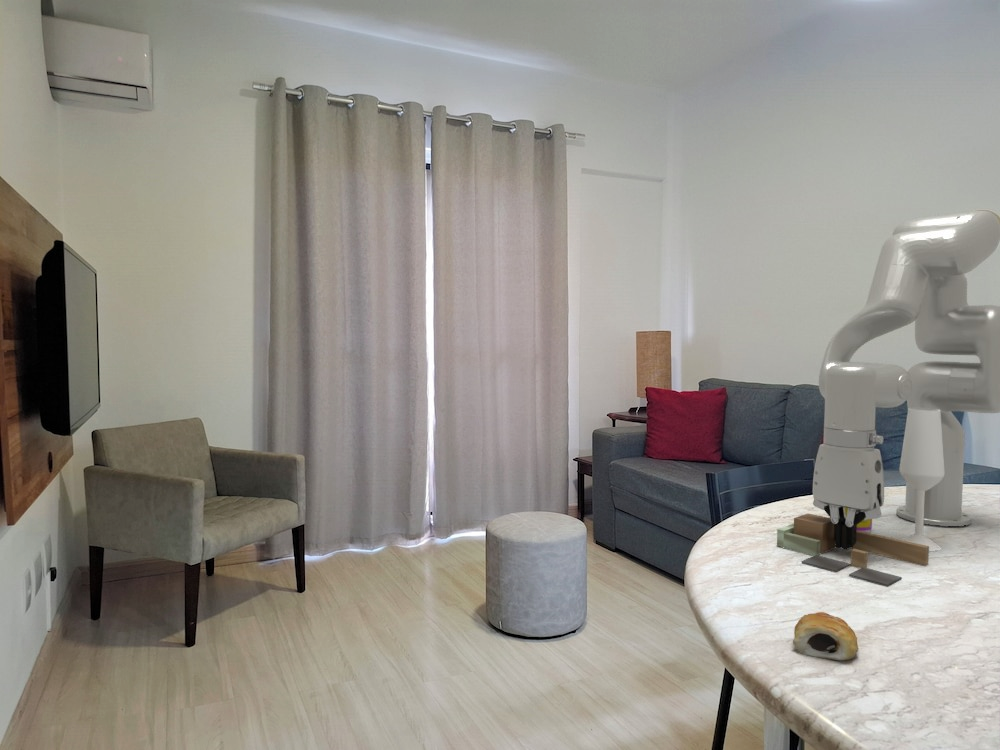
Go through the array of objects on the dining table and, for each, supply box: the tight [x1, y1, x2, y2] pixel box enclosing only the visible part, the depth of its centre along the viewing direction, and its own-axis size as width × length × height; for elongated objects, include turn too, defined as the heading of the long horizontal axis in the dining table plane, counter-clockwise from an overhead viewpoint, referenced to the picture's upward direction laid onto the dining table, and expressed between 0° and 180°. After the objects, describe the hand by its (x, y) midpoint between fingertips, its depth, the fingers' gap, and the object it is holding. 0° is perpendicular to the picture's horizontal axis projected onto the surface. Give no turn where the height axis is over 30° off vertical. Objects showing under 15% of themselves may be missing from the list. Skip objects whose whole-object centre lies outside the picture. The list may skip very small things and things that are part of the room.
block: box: [793, 513, 836, 555], centre depth 116 cm, size 5×5×5 cm
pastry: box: [792, 611, 859, 662], centre depth 80 cm, size 9×7×4 cm
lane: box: [776, 523, 930, 587], centre depth 111 cm, size 15×20×3 cm
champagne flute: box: [898, 407, 945, 552], centre depth 117 cm, size 7×7×24 cm
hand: (844, 547), depth 113 cm, fingers closed
